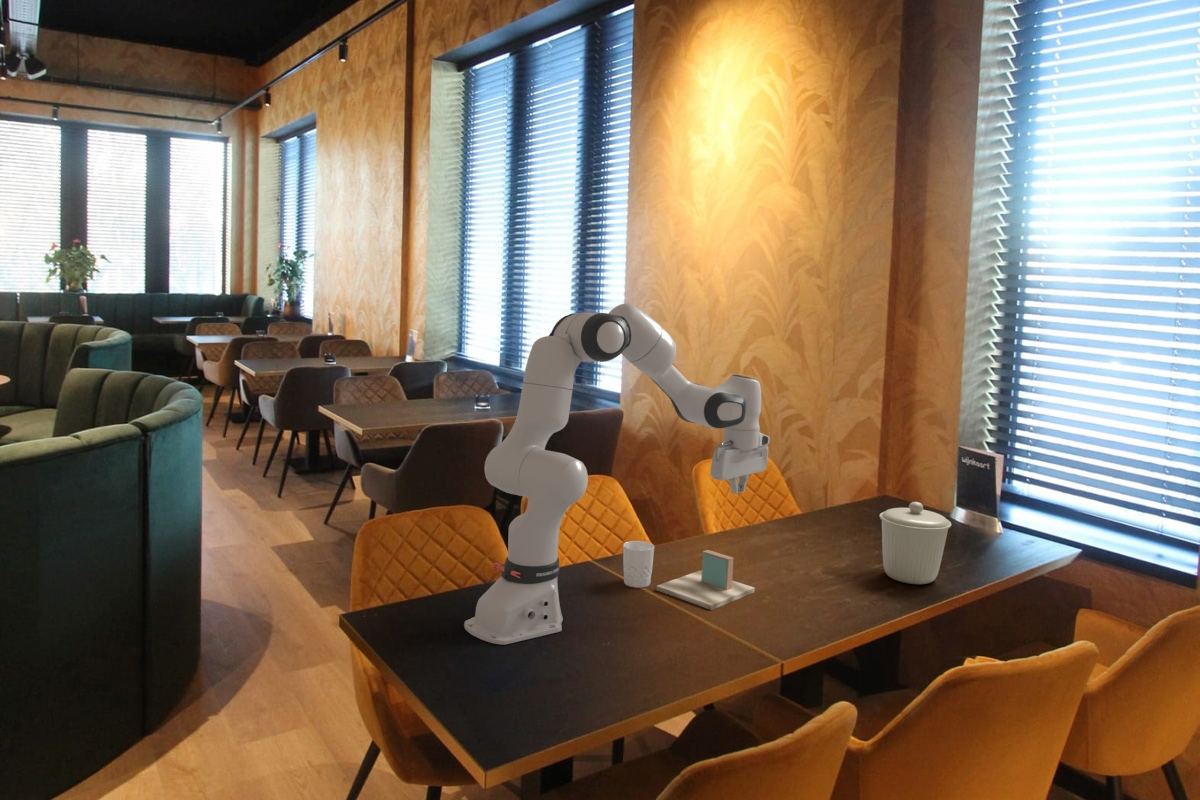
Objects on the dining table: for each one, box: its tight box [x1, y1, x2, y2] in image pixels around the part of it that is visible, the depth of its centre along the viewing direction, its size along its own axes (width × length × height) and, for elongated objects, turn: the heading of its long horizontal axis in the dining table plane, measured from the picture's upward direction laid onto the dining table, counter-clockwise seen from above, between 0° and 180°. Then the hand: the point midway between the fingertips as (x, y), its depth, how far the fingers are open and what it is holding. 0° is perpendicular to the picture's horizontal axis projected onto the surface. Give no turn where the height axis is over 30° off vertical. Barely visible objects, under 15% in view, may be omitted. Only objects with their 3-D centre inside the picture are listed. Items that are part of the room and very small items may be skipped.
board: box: [656, 569, 756, 611], centre depth 213 cm, size 18×17×1 cm
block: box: [701, 549, 735, 590], centre depth 214 cm, size 2×8×8 cm, turn 46°
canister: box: [879, 501, 952, 585], centre depth 228 cm, size 18×18×21 cm
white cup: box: [622, 540, 655, 589], centre depth 216 cm, size 8×8×10 cm
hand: (737, 492), depth 216 cm, fingers closed
